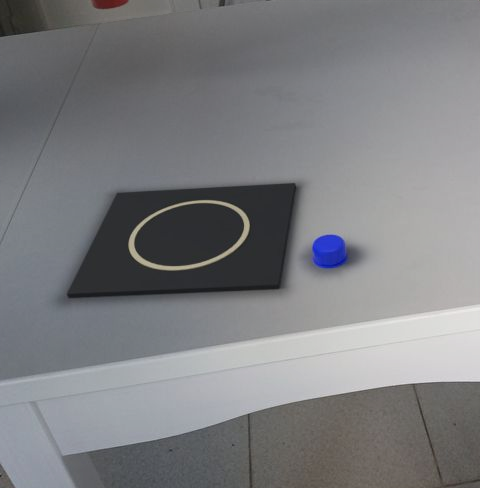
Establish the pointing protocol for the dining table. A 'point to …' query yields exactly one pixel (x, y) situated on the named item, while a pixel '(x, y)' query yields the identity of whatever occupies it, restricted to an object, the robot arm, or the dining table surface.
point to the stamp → (108, 3)
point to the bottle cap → (329, 251)
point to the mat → (189, 242)
